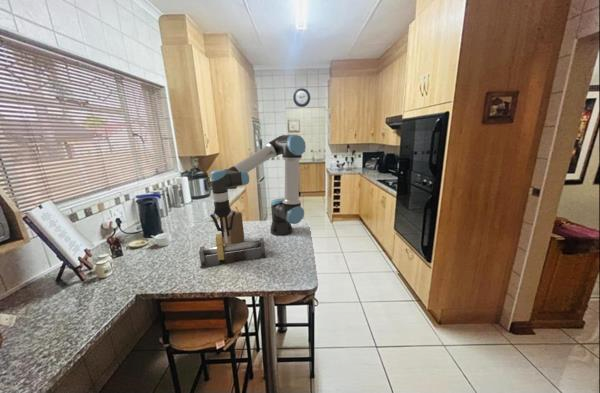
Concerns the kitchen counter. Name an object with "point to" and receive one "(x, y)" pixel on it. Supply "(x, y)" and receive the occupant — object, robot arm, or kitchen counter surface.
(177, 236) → the kitchen counter surface
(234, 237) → the wooden block
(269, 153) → the robot arm
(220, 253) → the collar
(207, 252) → the pipe rig
